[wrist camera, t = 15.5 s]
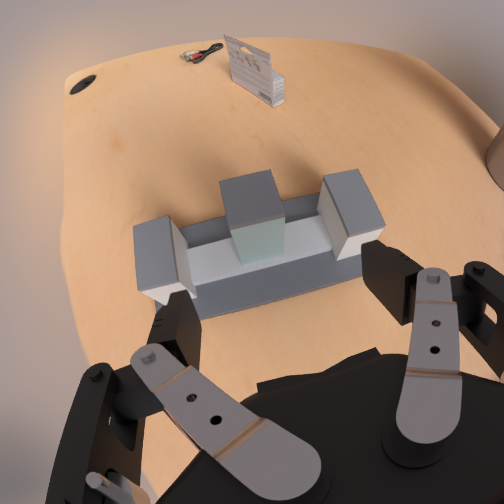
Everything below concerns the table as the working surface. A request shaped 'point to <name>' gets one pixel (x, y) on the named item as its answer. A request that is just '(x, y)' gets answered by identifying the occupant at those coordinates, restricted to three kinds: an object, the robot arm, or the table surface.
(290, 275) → the board
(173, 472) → the table surface
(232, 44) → the ink cartridge box
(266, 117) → the table surface
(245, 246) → the block
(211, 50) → the composite cable
